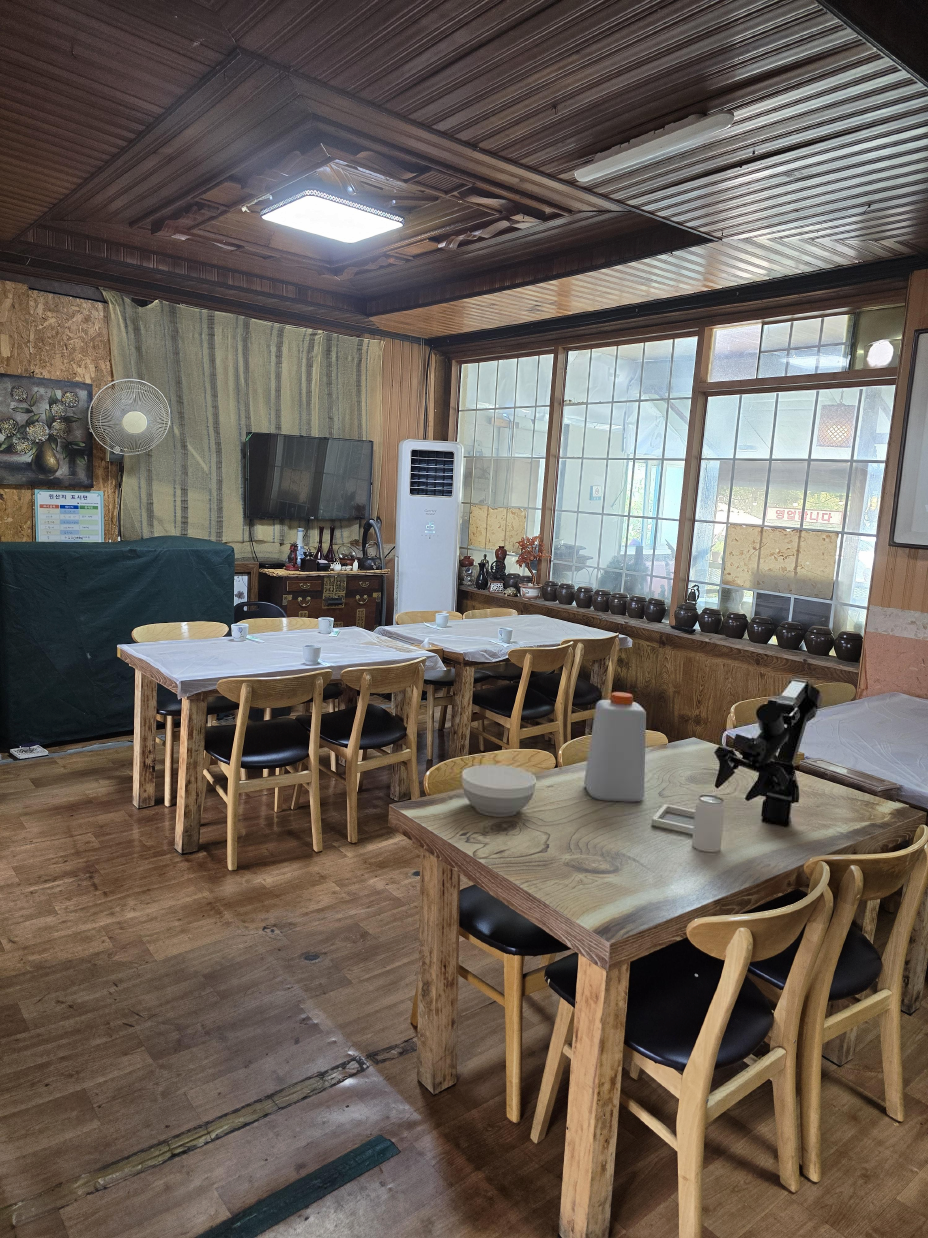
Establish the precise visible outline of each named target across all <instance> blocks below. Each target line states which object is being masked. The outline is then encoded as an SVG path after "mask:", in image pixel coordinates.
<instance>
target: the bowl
mask: <svg viewBox="0 0 928 1238" xmlns="http://www.w3.org/2000/svg"><path fill="white" fill-rule="evenodd" d="M461 784H462V790H463V793H464V797H466V799H467V802H469V804H470V805H472V806H473V807H474V808H475V810H476V811H477V812H479V813H480V814H482V815H485V816H489V817H497V818H505V817H511V816H514V815H516V814H518V812H519V811H521V810H523V809H524V808H525V807H527V805H528V804H529V803H530V802H531V800H532V799H533V795H534V793H535V790H536V784H537V778H536V776H535V775H534V774H533V773H531V772H530V771H528V770H525V769H522V768H520V767H519V768H518V767H514V766H511V765H510V766H508V765H501V764H480V765H473V766H470V767H467V768H465V769H464V770H463V771H462V773H461Z"/></svg>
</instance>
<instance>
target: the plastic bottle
mask: <svg viewBox="0 0 928 1238" xmlns="http://www.w3.org/2000/svg"><path fill="white" fill-rule="evenodd" d="M591 731H592V732H591V736H590V743H589V747H588V749H589V750H588V755H587V762H586V766H585V767H586V769H585V774H584V781H583V784H584V786H585V789H586V790H587V792H588V794H589V796H591V798H594V799H596V800H599V801H605V802H624V803H637V802H640V801H642V800H643V799H644V797H645V783H646V782H645V774H646V739H647V738H646V736H647V734H646V733H647V732H646V731H647V712H646V710H645V709H644V708H643V707H642V706H641V705H640V704H639V703H637V702H635V701H634V696H633V694H631V693H629V692H628V693H627V692H623V691H614V692H611V694H610V699H601V700H599V701H597V702H596V705H595V710H594V717H593V724H592V730H591Z"/></svg>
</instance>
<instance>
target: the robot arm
mask: <svg viewBox="0 0 928 1238" xmlns="http://www.w3.org/2000/svg"><path fill="white" fill-rule="evenodd" d="M788 683H789V684H788V685H787V687H786V688H785V689H784V691H782V693H781V694H780V695H779V696H778V695H777V696H772V697H771V698H769V699H768V701H767V702H765V703H763V704H761V705H759V706H758V707H757V708H756V711H755V716H756V720H757V724H758V728H759V731H760V733H758V735H757V736H756V737H753V736H752V737H748V736H745V735H742V734H738V733H736V734H735V735H734V738H733V740H732V742H731V747H732V748H729V747H727V746H724V745H718V746H717V747H716V749H715V751H714V752H713V755H715V757H716V759H717V761H718V762H719V766H718V771H717V775H716V779H715V781H714V782H715V783H714V787H715V789H717V790H718V789H719V788H721V787H722V786H723V785H724V784H725V783H726V782H727V781H728V780H729V779H730V778H732V777H733V775H735V774H736V772H735V770H738V769H739V767H741V768H744V769H747V770H749V771H752V772H755V773H757V774H758V775H757V779H756V780H755V782H754V784H752V786H751V787H750V789H749V790H748V792H747V794H746V795H745V797H744V799H745V801H746V802H749V801H752V800H754V799H756V798H758V797H759V796H760V797H765V798H764V799H763V801H762V806H761V811H760V812H761V813H760V816H761V818H762V819H761V821H762V822H765V823H768V824H769V823H770V824H774V825H779V826H783V827H789V826H790V823H791V821H792V817H791V814H792V807H793V806H792V805H793V804H796V803H797V804H798V803H799V802H800V787H799V782H798V779H797V774H796V773H797V772H796V770H795V764H796V760H797V757H798V754H799V749H800V746H801V743H802V740H803V737H804V733H805V729H806V726H807V724H808V722H811V720H814V718H816V716H817V713H818V710H820V709H821V707H822V703H823V702H822V700H823V698H822V694H821V691H820V690H819V689H818V688H816V687H815V686H814V685H812V682H811V681H809V680H806V679H800V678H790V680H789V682H788ZM785 726H786V727H785ZM733 748H736V749H738V751H737V752H738V753H739V755H740V756H742V757H739V756H738V755H737V753H736V752H735V751H734V749H733Z"/></svg>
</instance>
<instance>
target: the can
mask: <svg viewBox="0 0 928 1238" xmlns="http://www.w3.org/2000/svg"><path fill="white" fill-rule="evenodd" d="M695 803H696V804H695V809H694V810H695V819H694V828H693V836H692V838H691V839H692V840H691V845H692V847H693V848H694V849H695V850H697V851H700V852H703V853H709V854H712V853H717V852H719V851H720V850H721V847H722V837H723V831H724V829H723V828H724V820H725V819H724V818H725V811H726V810H725V808H726V807H725V803H724V799H723V798H722V797H720V796H717V795H715V794H714V795H713V794H706V793H705V794H700V795H698V799H697V801H696V802H695Z"/></svg>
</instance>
